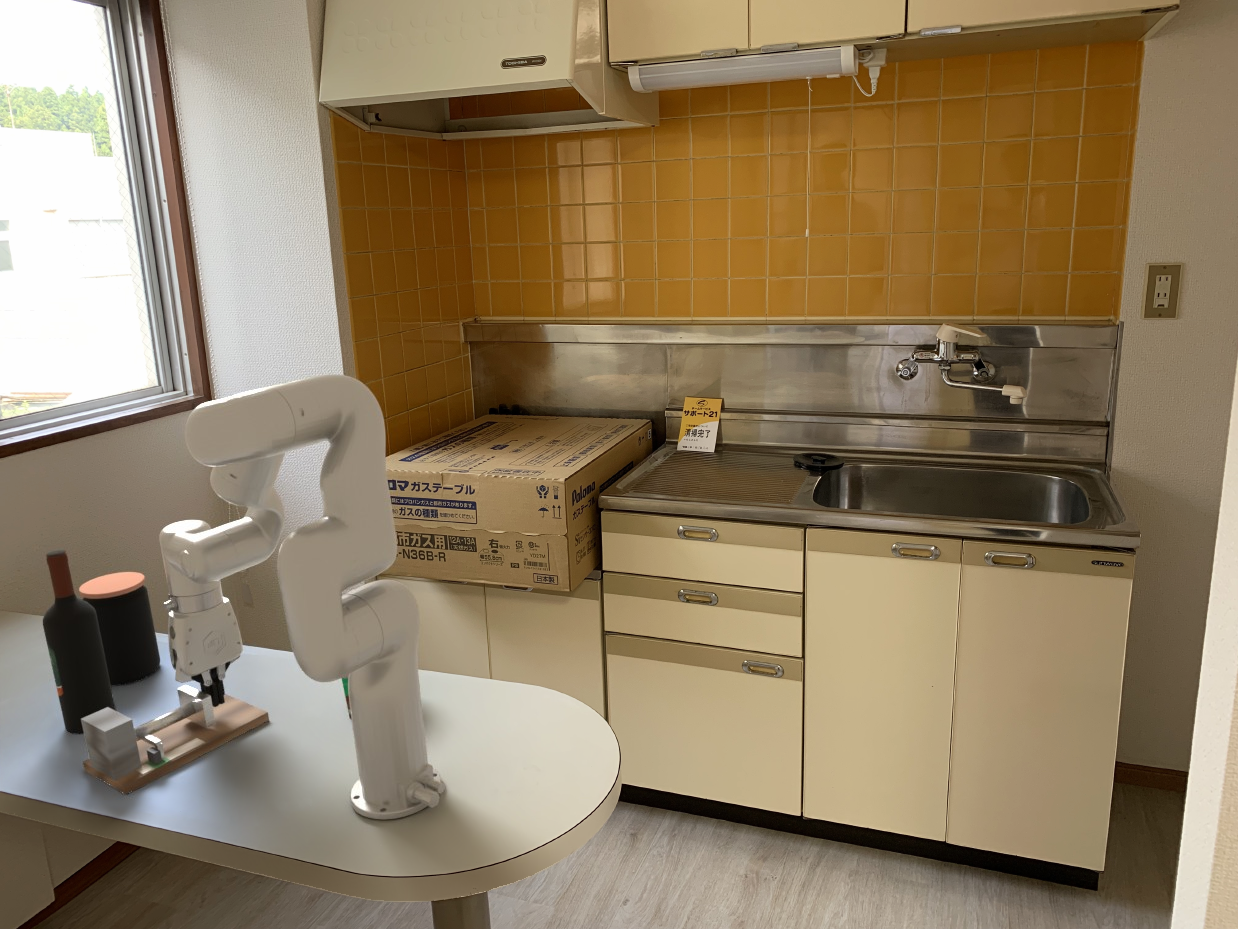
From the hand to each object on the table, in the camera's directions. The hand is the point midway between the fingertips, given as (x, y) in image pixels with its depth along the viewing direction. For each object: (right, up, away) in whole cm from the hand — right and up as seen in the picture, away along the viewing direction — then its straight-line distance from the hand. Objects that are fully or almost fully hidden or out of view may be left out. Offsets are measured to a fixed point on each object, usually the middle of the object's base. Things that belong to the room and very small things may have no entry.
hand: (215, 702), depth 153 cm
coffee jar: (-25, 0, +21) cm, 32 cm away
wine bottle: (-22, -4, +4) cm, 23 cm away
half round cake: (+25, -2, +5) cm, 26 cm away
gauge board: (-4, -6, -4) cm, 8 cm away
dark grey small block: (-4, -6, -12) cm, 14 cm away
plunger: (-4, -4, -6) cm, 8 cm away
